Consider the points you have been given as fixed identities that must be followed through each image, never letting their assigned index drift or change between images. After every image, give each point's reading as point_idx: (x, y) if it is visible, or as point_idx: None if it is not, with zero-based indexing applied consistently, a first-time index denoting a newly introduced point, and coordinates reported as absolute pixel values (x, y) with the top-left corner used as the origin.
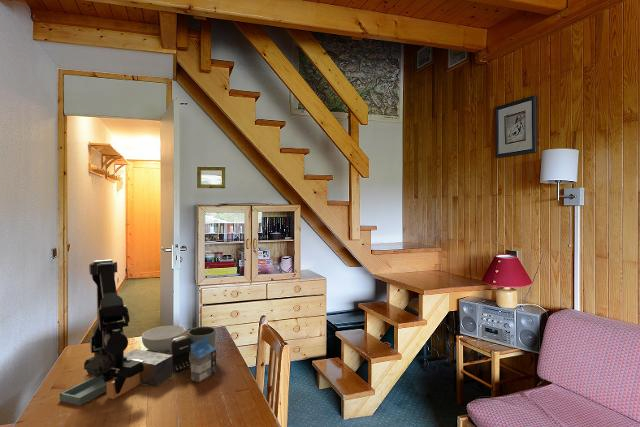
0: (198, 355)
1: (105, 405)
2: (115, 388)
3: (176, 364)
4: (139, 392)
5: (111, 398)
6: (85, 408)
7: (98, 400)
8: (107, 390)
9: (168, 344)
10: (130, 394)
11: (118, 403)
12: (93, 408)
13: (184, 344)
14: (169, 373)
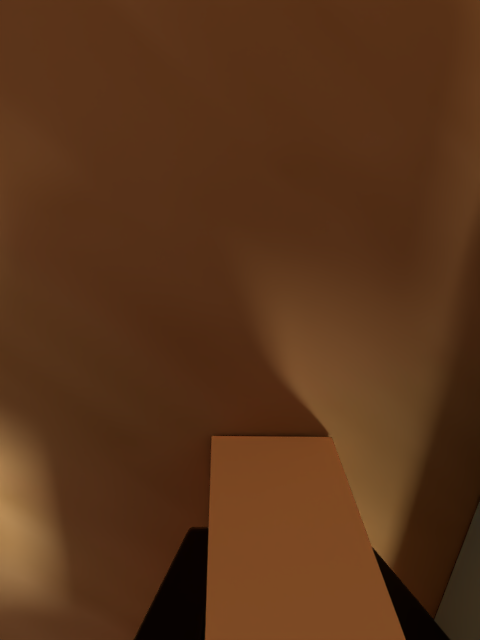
0: None
1: (165, 267)
2: (194, 616)
3: None
4: (41, 622)
5: (242, 439)
6: (446, 56)
7: (403, 351)
8: (345, 537)
9: None
10: (99, 571)
11: (24, 375)
12: (288, 110)
13: None
14: None
